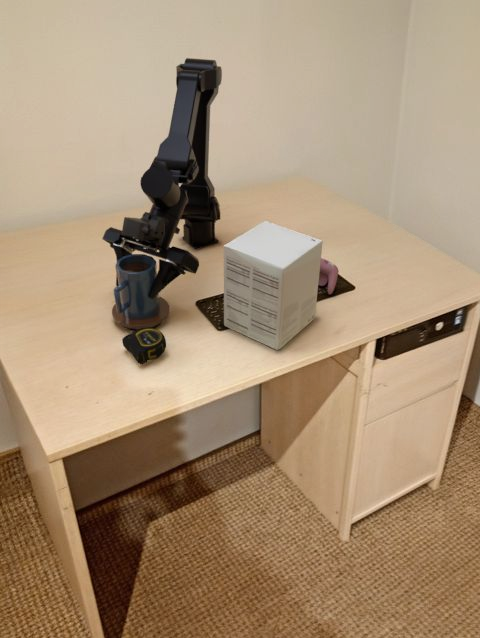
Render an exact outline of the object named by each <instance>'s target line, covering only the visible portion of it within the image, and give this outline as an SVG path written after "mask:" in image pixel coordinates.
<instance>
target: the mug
mask: <svg viewBox="0 0 480 638" xmlns="http://www.w3.org/2000/svg"><path fill="white" fill-rule="evenodd" d="M157 264H158V263H157V260H156V259H155V258H154V256H152V255H149V254H146V253H132V255H128V256H124V257H122V258H121V259H119V260H118V261H117V260H116V263H115V267H114V268H115V272H116V274H117V277H118V286H115V287H114V288H113V296H114V303H115V304H114V305H113V306H112V307H111V317H112V319H113V321H114V322H115V323H116V324H118V325H119V326H121V327H122V326H124V327H127V328H133V329H140V328H150V327H153V326H156V325H158V324H160V323H162V322H163V323H164V321H166V320H167V319H168V317H169V316H170V312H171V307H170V303H169V302H168V300H166V299H165V298H163V297H162V296H160V293H159V294H157V295H156V296H155V297H154V298H153V299H151V298H149V294H150V290H151V288H152V285H153V283H154V280H155V278H156V276H157V273H158V265H157ZM163 323H162V324H163ZM124 327H123V328H124Z"/></svg>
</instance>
